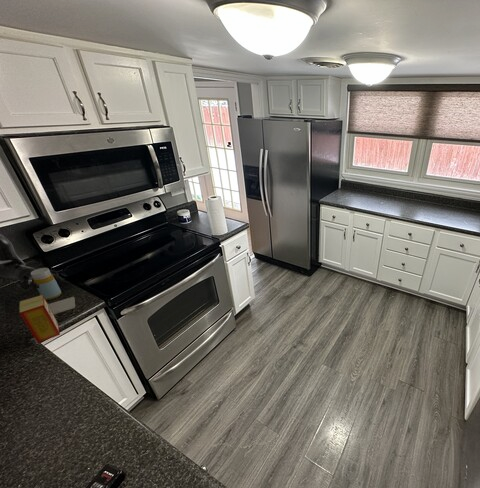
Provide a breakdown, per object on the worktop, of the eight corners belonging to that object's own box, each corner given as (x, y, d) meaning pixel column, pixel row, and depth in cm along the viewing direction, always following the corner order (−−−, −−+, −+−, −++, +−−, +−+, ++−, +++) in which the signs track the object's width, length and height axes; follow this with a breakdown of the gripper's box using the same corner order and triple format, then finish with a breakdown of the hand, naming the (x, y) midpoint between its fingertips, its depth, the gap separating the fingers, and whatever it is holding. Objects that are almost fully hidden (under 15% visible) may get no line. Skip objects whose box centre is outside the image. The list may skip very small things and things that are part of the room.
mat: (40, 319, 118) (39, 318, 118) (40, 307, 125) (40, 306, 125) (75, 307, 125) (75, 307, 125) (74, 297, 133) (74, 296, 132)
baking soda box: (60, 334, 110) (43, 304, 103) (38, 343, 106) (19, 312, 99) (58, 322, 116) (42, 293, 109) (37, 330, 112) (19, 300, 105)
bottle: (64, 294, 134) (52, 269, 128) (47, 302, 128) (33, 276, 122) (57, 290, 137) (45, 265, 130) (39, 298, 131) (26, 272, 124)
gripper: (5, 275, 126) (24, 283, 120) (43, 262, 138) (62, 269, 132) (12, 288, 129) (31, 297, 124) (49, 274, 141) (68, 281, 136)
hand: (47, 282), depth 128 cm, fingers closed on bottle, 7 cm apart
